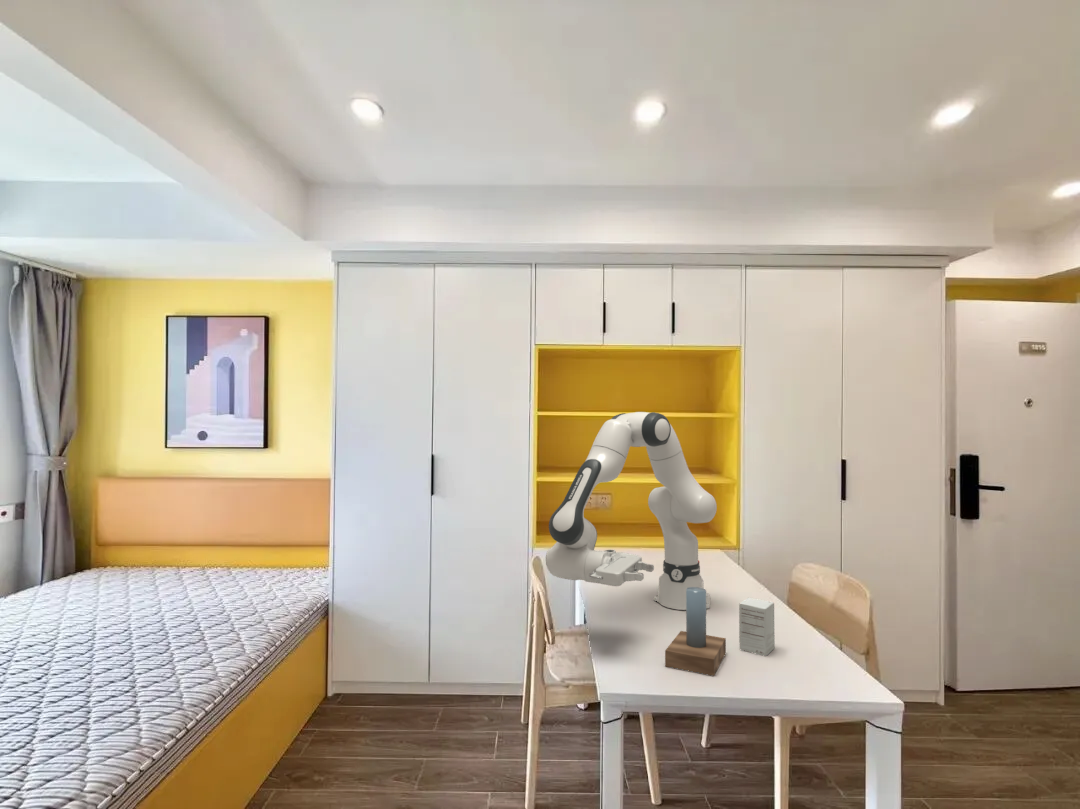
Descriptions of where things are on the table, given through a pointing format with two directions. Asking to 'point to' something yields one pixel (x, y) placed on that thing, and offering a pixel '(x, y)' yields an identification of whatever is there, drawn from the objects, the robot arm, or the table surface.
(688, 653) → the plate
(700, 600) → the slate cylinder
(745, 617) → the supplement box
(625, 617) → the table surface
